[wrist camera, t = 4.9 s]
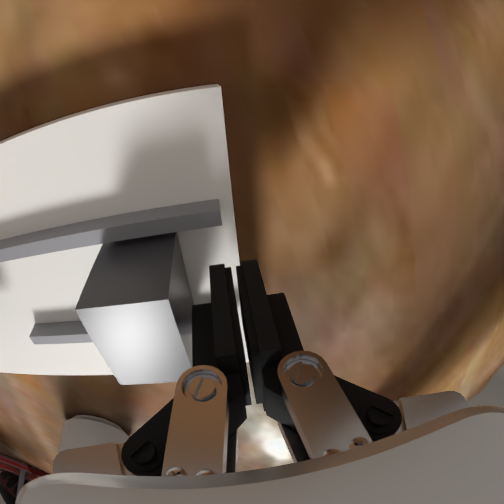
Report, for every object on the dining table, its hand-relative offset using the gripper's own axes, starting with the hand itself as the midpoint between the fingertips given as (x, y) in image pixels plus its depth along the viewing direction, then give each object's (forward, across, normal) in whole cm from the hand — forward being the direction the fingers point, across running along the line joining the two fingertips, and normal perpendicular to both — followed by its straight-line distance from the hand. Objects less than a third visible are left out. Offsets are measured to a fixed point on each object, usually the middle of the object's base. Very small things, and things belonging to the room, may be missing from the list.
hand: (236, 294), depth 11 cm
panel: (+5, +15, 0) cm, 16 cm away
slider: (+2, +3, 0) cm, 4 cm away
